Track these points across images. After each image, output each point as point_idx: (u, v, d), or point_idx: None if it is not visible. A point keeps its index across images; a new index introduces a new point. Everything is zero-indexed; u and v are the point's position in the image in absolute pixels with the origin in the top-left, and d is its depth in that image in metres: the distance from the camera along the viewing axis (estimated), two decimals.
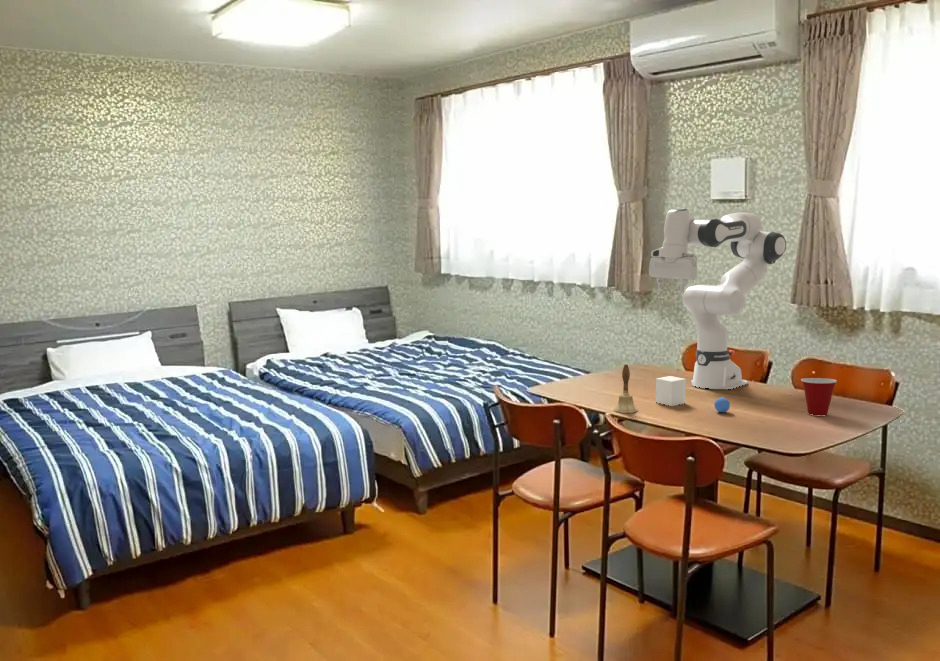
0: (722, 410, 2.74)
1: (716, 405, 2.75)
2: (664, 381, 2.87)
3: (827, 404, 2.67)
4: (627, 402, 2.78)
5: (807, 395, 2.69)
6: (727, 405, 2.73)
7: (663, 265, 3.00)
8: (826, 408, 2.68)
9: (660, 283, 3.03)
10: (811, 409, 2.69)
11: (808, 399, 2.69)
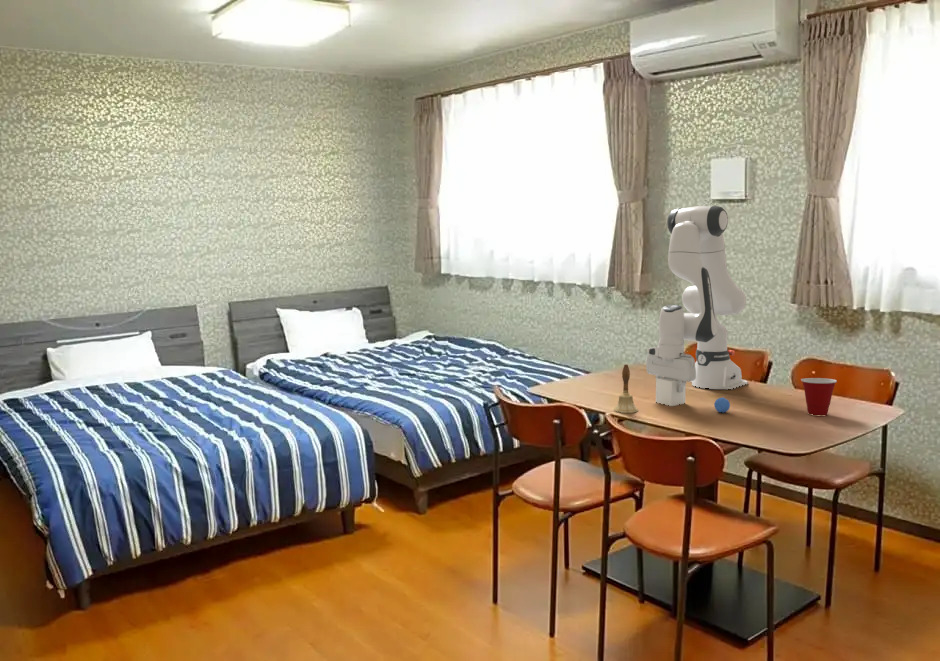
0: (722, 410, 2.74)
1: (716, 405, 2.75)
2: (664, 381, 2.87)
3: (827, 404, 2.67)
4: (627, 402, 2.78)
5: (807, 395, 2.69)
6: (727, 405, 2.73)
7: (660, 364, 2.91)
8: (826, 408, 2.68)
9: None
10: (811, 409, 2.69)
11: (808, 399, 2.69)
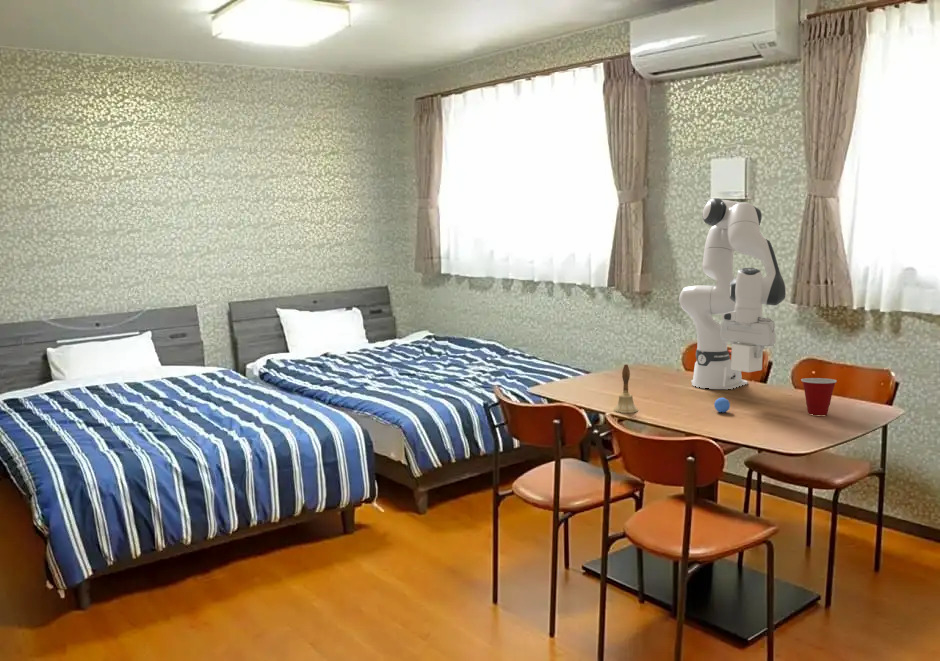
0: (722, 410, 2.74)
1: (716, 405, 2.75)
2: (741, 346, 2.78)
3: (827, 404, 2.67)
4: (627, 402, 2.78)
5: (807, 395, 2.69)
6: (727, 405, 2.73)
7: (736, 329, 2.81)
8: (826, 408, 2.68)
9: None
10: (811, 409, 2.69)
11: (808, 399, 2.69)
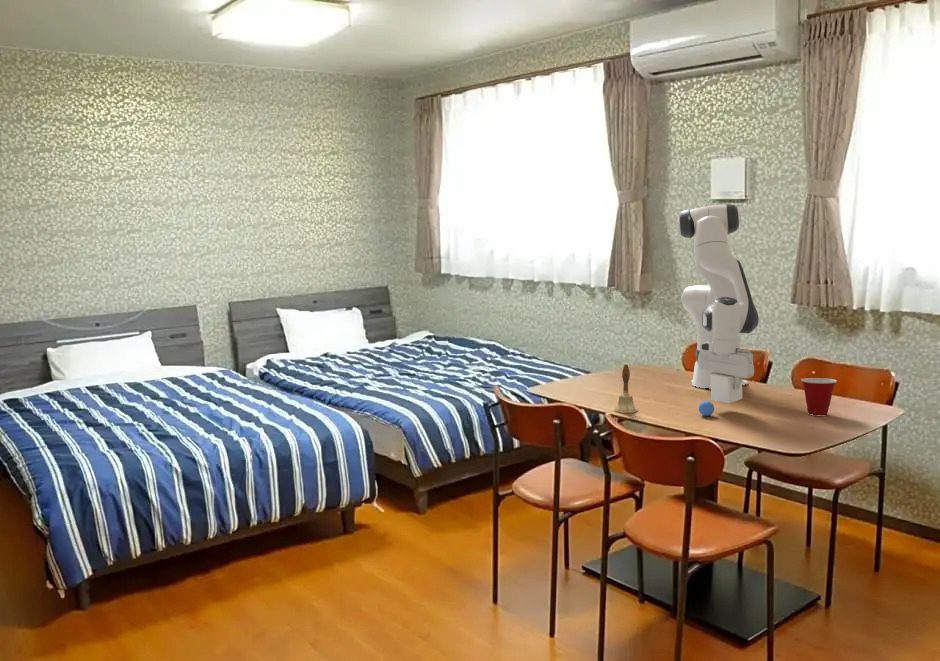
0: (712, 404, 2.71)
1: None
2: (719, 377, 2.73)
3: (827, 404, 2.67)
4: (627, 402, 2.78)
5: (807, 395, 2.69)
6: (712, 410, 2.69)
7: (714, 359, 2.76)
8: (826, 408, 2.68)
9: None
10: (811, 409, 2.69)
11: (808, 399, 2.69)
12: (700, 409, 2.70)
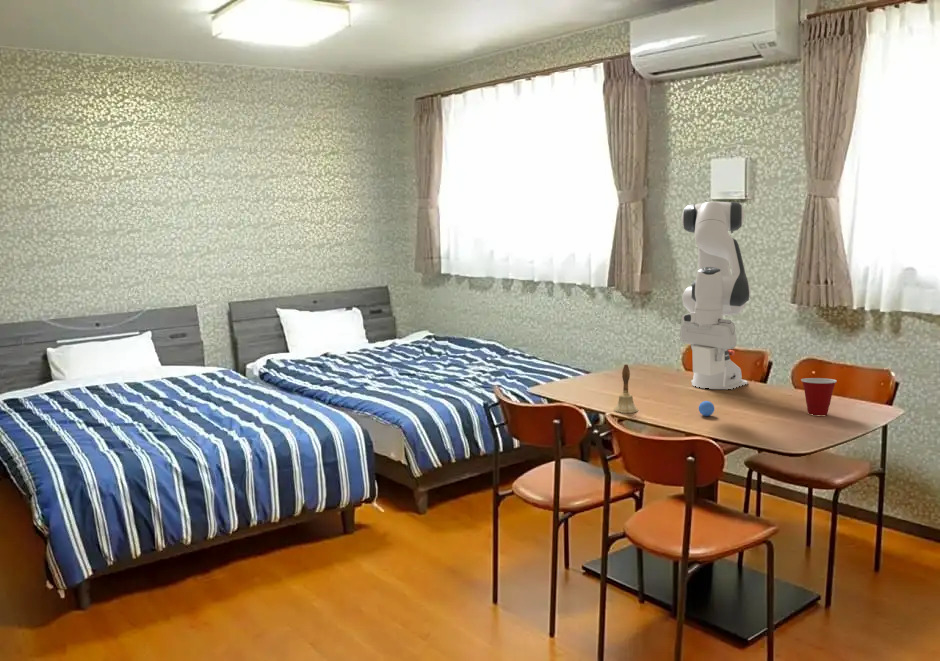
0: (712, 404, 2.71)
1: None
2: (701, 349, 2.66)
3: (827, 404, 2.67)
4: (627, 402, 2.78)
5: (807, 395, 2.69)
6: (712, 410, 2.69)
7: (696, 331, 2.70)
8: (826, 408, 2.68)
9: None
10: (811, 409, 2.69)
11: (808, 399, 2.69)
12: (700, 409, 2.70)
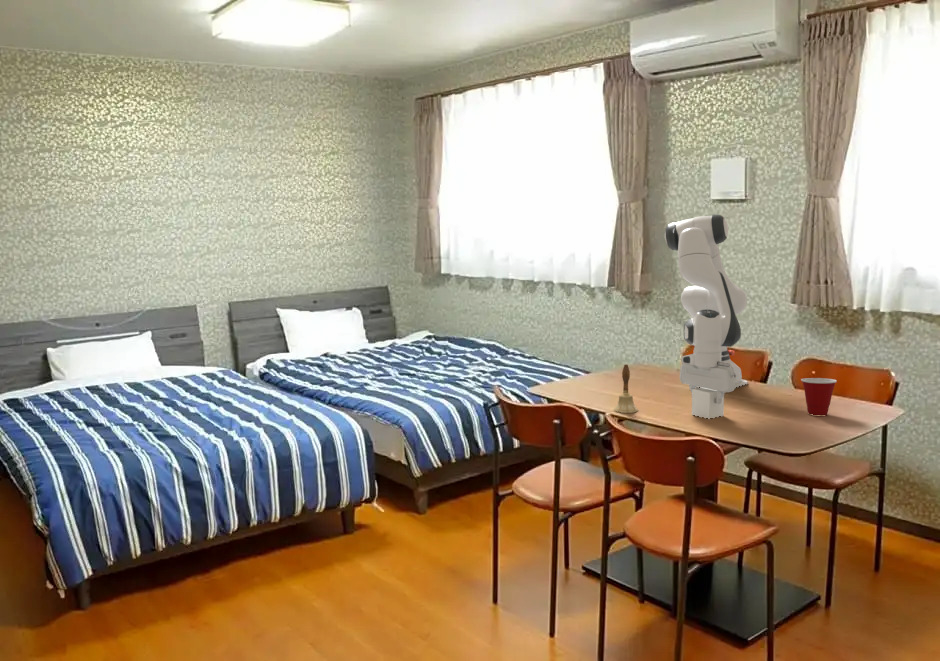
0: None
1: None
2: (701, 392, 2.69)
3: (827, 404, 2.67)
4: (627, 402, 2.78)
5: (807, 395, 2.69)
6: None
7: (695, 373, 2.72)
8: (826, 408, 2.68)
9: None
10: (811, 409, 2.69)
11: (808, 399, 2.69)
12: None
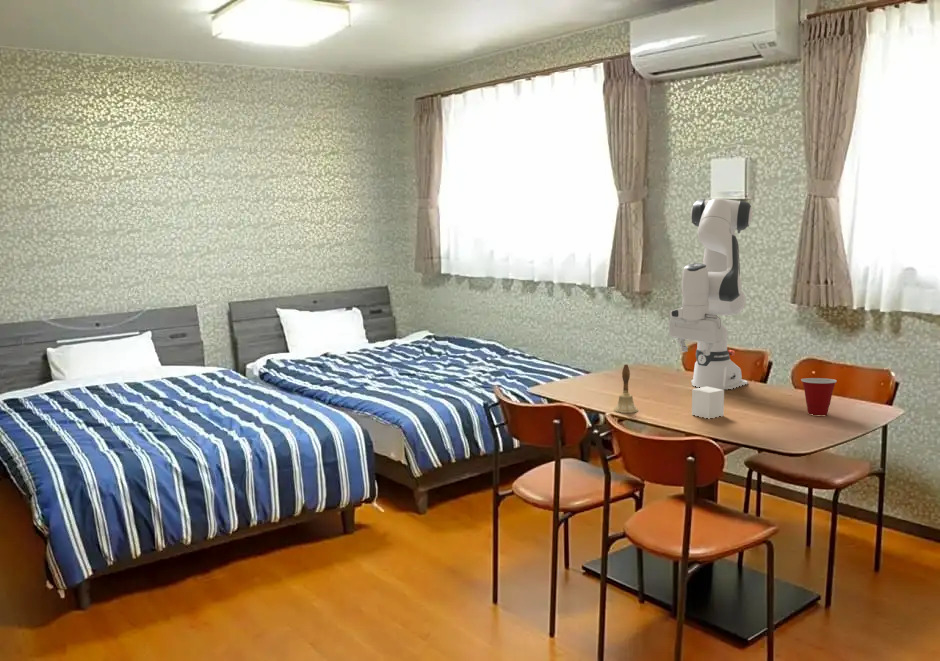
0: None
1: None
2: (701, 392, 2.69)
3: (827, 404, 2.67)
4: (627, 402, 2.78)
5: (807, 395, 2.69)
6: None
7: (684, 326, 2.76)
8: (826, 408, 2.68)
9: (682, 344, 2.80)
10: (811, 409, 2.69)
11: (808, 399, 2.69)
12: None
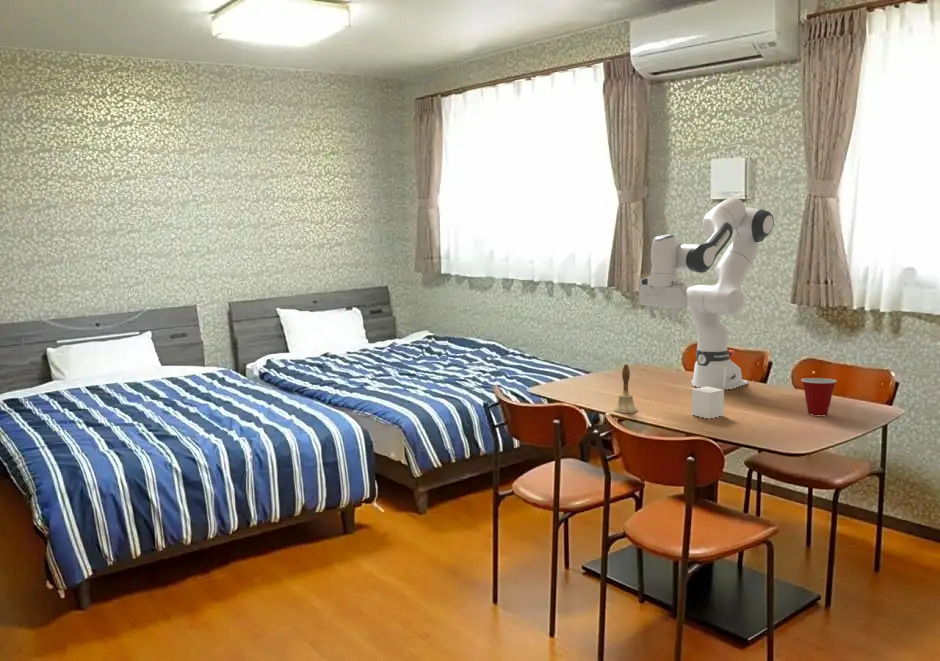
0: None
1: None
2: (701, 392, 2.69)
3: (827, 404, 2.67)
4: (627, 402, 2.78)
5: (807, 395, 2.69)
6: None
7: (653, 294, 2.93)
8: (826, 408, 2.68)
9: (651, 311, 2.96)
10: (811, 409, 2.69)
11: (808, 399, 2.69)
12: None
